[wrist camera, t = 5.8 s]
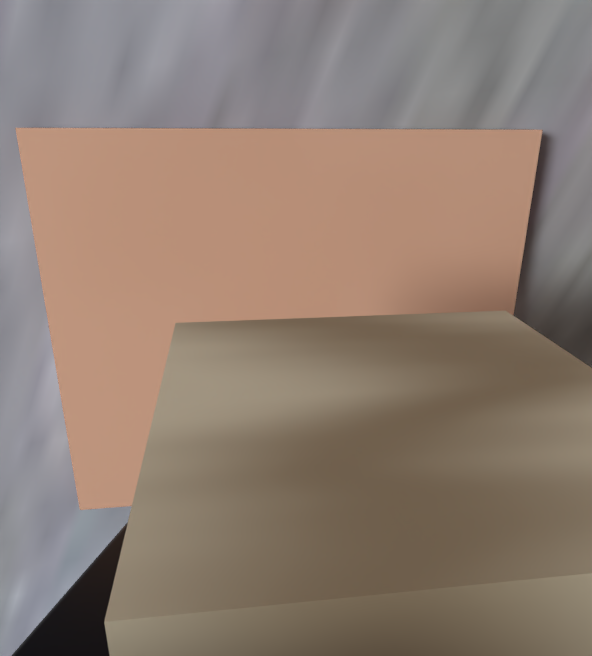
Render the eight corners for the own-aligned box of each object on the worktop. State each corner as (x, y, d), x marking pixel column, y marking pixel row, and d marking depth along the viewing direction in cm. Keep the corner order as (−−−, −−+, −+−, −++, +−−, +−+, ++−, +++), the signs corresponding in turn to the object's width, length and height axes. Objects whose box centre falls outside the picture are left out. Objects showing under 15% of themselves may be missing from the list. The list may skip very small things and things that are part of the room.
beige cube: (505, 310, 8) (859, 547, 4) (465, 575, 10) (666, 952, 6) (175, 322, 8) (104, 622, 3) (197, 602, 10) (173, 1048, 5)
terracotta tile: (529, 129, 14) (542, 129, 13) (479, 466, 17) (487, 478, 17) (24, 127, 12) (15, 128, 12) (84, 496, 16) (79, 510, 15)
